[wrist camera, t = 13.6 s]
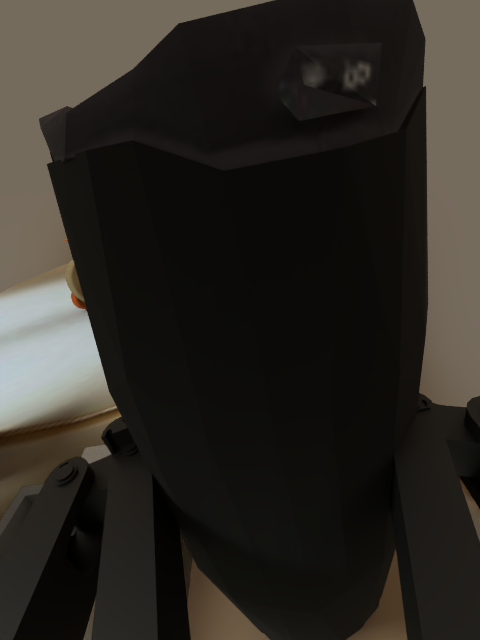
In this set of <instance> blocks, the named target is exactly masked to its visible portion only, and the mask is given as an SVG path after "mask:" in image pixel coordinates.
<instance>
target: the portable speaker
mask: <svg viewBox="0 0 480 640" xmlns="http://www.w3.org/2000/svg"><path fill="white" fill-rule="evenodd" d="M424 55H425V36H424V33H423V30H422V27H421V24H420V21H419V18H418V15H417V12H416V8H415V5H414V3H413V0H275V1H270V2H266V3H263V4H258V5H254V6H250V7H246V8H241V9H237V10H233V11H229V12H225V13H220V14H216V15H212V16H208V17H204V18H200V19H196V20H192V21H187V22H183V23H179V24H178V25H177V26H176V27H175V28H174V29H173V30H172V31H171V32H170V33H169V34H168V35H167V36H166V37H165V38H164V39H163V40H162V41H161V42H160V43H159V44H158V45H157V46H156V47H155V48H154V49H153V50H152V51H151V52H150V53H149V54H148V55H147V56H146V57H145V58H144V59H143V60H142V61H141V62H140V63H139V64H138V65H137V66H136V67H135V68H134V69H132V70H131V71H129V72H128V73H126V74H125V75H123V76H122V77H120V78H119V79H117V80H116V81H114V82H112V83H111V84H109V85H108V86H106V87H105V88H103V89H102V90H100V91H99V92H97V93H96V94H94V95H93V96H91V97H90V98H88V99H86V100H85V101H83V102H82V103H80V104H79V105H77V106H76V107H74V108H71V107H68V106H66V107H64V108H62V109H60V110H58V111H55V112H53V113H51V114H49V115H46V116H44V117H42V118H40V119H39V122H40V127H41V130H42V132H43V135H44V137H45V140H46V142H47V145H48V147H49V150H50V152H51V153H50V154H51V158H52V161H53V162H52V163H49V164H47V166H48V170H49V173H50V177H51V181H52V184H53V188H54V192H55V196H56V199H57V203H58V206H59V210H60V214H61V217H62V221H63V225H64V228H65V232H66V236H67V239H68V243H69V247H70V250H71V254H72V257H73V261H74V265H75V268H76V272H77V276H78V279H79V283H80V287H81V290H82V294H83V297H84V301H85V305H86V308H87V312H88V316H89V319H90V323H91V327H92V330H93V334H94V338H95V341H96V345H97V348H98V352H99V356H100V359H101V363H102V367H103V370H104V374H105V378H106V381H107V385H108V388H109V392H110V394H111V396H112V398H113V400H114V402H115V404H116V406H117V408H118V410H119V412H120V414H121V416H122V418H123V420H124V422H125V424H126V426H127V428H128V430H129V432H130V434H131V436H132V438H133V440H134V442H135V444H136V446H137V448H138V450H139V452H140V454H141V456H142V458H143V460H144V462H145V464H146V466H147V468H148V470H149V471H150V472H151V473H152V475H153V477H154V479H155V481H156V483H157V485H158V487H159V489H160V491H161V493H162V495H163V497H164V499H165V501H166V503H167V505H168V507H169V509H170V511H171V512H172V514H173V516H174V518H175V520H176V522H177V524H178V526H179V531H180V533H181V535H182V537H183V539H184V541H185V543H186V545H187V547H188V549H189V551H190V553H191V555H192V557H193V559H194V561H195V563H196V565H197V567H198V569H199V570H200V571H201V572H202V573H203V574H204V575H205V576H206V577H207V578H208V579H209V580H210V581H211V582H212V583H213V584H214V585H215V586H216V587H217V588H218V589H219V590H220V591H221V592H222V593H223V594H224V595H225V596H226V597H227V598H228V599H229V600H230V601H231V602H232V603H233V604H234V605H235V606H236V607H237V608H238V609H239V610H240V611H241V612H242V613H243V614H244V615H245V616H246V617H247V618H248V619H249V621H250V622H251V623H252V624H253V625H254V626H255V627H256V628H257V629H258V630H259V631H260V632H262V633H264V634H265V635H266V636H267V637H268V638H269V639H270V640H346V639H348V638H349V637H350V636H352V635H353V634H355V633H356V632H357V631H359V630H360V629H361V628H362V627H363V626H364V624H365V622H366V621H367V620H368V619H369V618H370V616H371V615H372V614H373V613H374V612H375V610H376V609H377V608H378V607H379V601H380V598H381V597H382V593H383V590H384V587H385V583H386V580H387V577H388V573H389V570H390V566H391V563H392V560H393V556H394V553H395V550H396V546H395V538H394V530H393V522H392V514H391V497H392V479H393V462H394V454H395V452H396V450H397V449H398V447H399V445H400V444H401V442H402V440H403V438H404V436H405V435H406V433H407V431H408V429H409V427H410V426H411V424H412V422H413V420H414V418H415V416H416V412H417V403H418V395H419V387H420V378H421V370H422V362H423V353H424V345H425V336H426V323H427V310H428V264H427V263H428V255H427V254H428V253H427V252H428V251H427V158H426V157H427V151H426V86H425V87H423V75H424Z"/></svg>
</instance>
